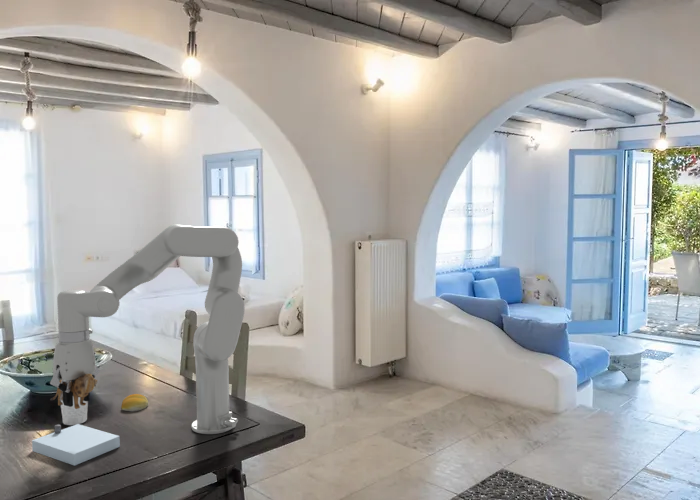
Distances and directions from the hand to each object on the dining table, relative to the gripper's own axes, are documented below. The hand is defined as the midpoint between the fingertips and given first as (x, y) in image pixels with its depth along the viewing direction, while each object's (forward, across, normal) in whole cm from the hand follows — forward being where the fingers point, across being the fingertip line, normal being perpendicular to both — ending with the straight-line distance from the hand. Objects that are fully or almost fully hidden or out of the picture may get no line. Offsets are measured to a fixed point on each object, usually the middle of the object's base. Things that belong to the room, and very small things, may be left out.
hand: (76, 402), depth 167 cm
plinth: (+13, 0, -1) cm, 13 cm away
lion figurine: (+1, 0, -1) cm, 2 cm away
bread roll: (+14, -31, -15) cm, 37 cm away
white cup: (+13, -13, -20) cm, 27 cm away
